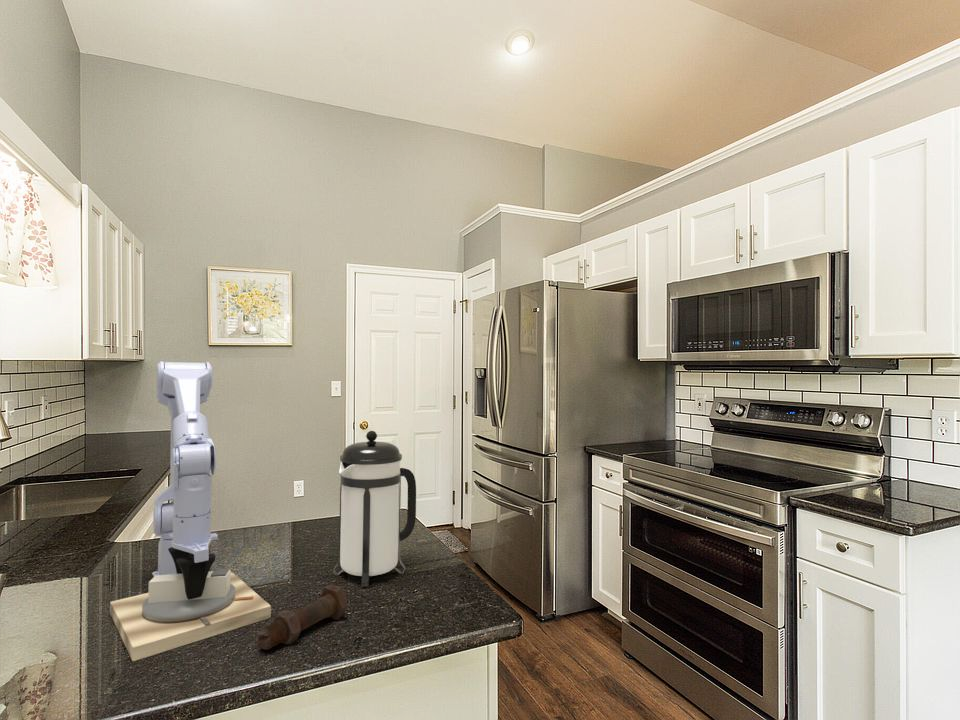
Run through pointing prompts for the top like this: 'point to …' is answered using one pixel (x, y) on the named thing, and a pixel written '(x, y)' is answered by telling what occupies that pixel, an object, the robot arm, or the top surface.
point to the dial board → (184, 622)
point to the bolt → (303, 618)
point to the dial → (172, 601)
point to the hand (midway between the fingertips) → (190, 592)
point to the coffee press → (372, 508)
